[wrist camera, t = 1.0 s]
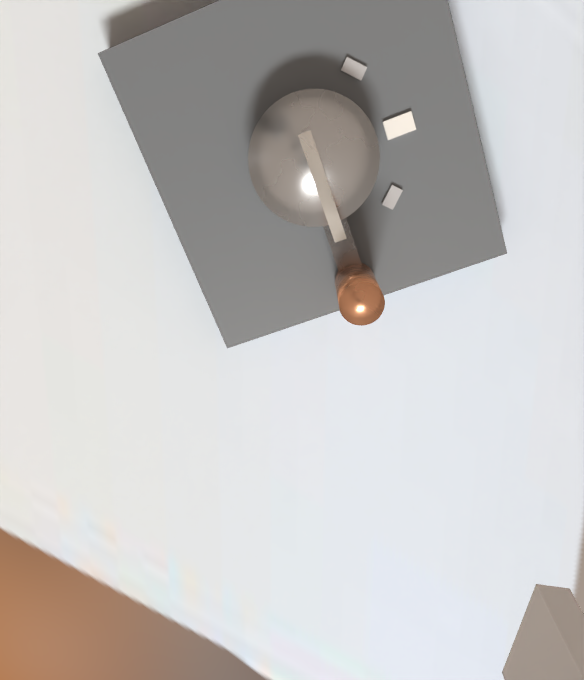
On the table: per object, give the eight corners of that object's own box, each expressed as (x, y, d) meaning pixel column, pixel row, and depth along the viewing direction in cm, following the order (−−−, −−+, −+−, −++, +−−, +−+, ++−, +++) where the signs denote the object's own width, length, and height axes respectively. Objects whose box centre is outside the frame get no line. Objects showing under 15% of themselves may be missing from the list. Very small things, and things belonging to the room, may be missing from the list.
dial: (231, 118, 31) (219, 117, 26) (353, 69, 30) (361, 60, 25) (306, 318, 35) (306, 344, 30) (416, 280, 34) (432, 302, 29)
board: (110, 57, 32) (96, 52, 30) (418, -77, 29) (426, -92, 27) (231, 337, 38) (226, 349, 36) (496, 246, 35) (508, 254, 33)
